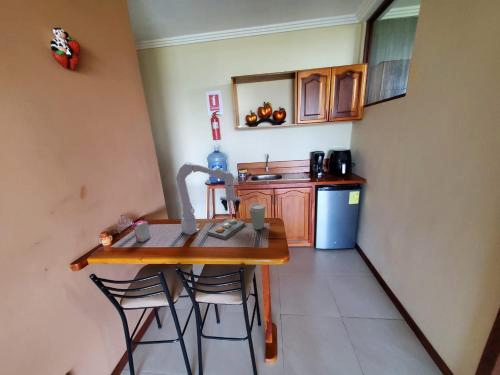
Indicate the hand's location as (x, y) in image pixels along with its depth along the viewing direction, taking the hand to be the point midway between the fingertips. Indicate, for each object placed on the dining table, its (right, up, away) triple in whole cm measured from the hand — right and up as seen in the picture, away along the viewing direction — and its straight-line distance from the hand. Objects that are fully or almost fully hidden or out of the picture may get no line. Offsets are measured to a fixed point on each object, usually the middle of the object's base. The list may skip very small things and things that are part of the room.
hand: (231, 210), depth 129 cm
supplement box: (-53, -17, -9) cm, 57 cm away
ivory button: (-3, -10, -3) cm, 11 cm away
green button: (+1, -9, +2) cm, 9 cm away
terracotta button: (-6, -12, -8) cm, 16 cm away
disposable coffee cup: (+17, -10, -3) cm, 20 cm away
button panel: (-3, -12, -3) cm, 12 cm away
